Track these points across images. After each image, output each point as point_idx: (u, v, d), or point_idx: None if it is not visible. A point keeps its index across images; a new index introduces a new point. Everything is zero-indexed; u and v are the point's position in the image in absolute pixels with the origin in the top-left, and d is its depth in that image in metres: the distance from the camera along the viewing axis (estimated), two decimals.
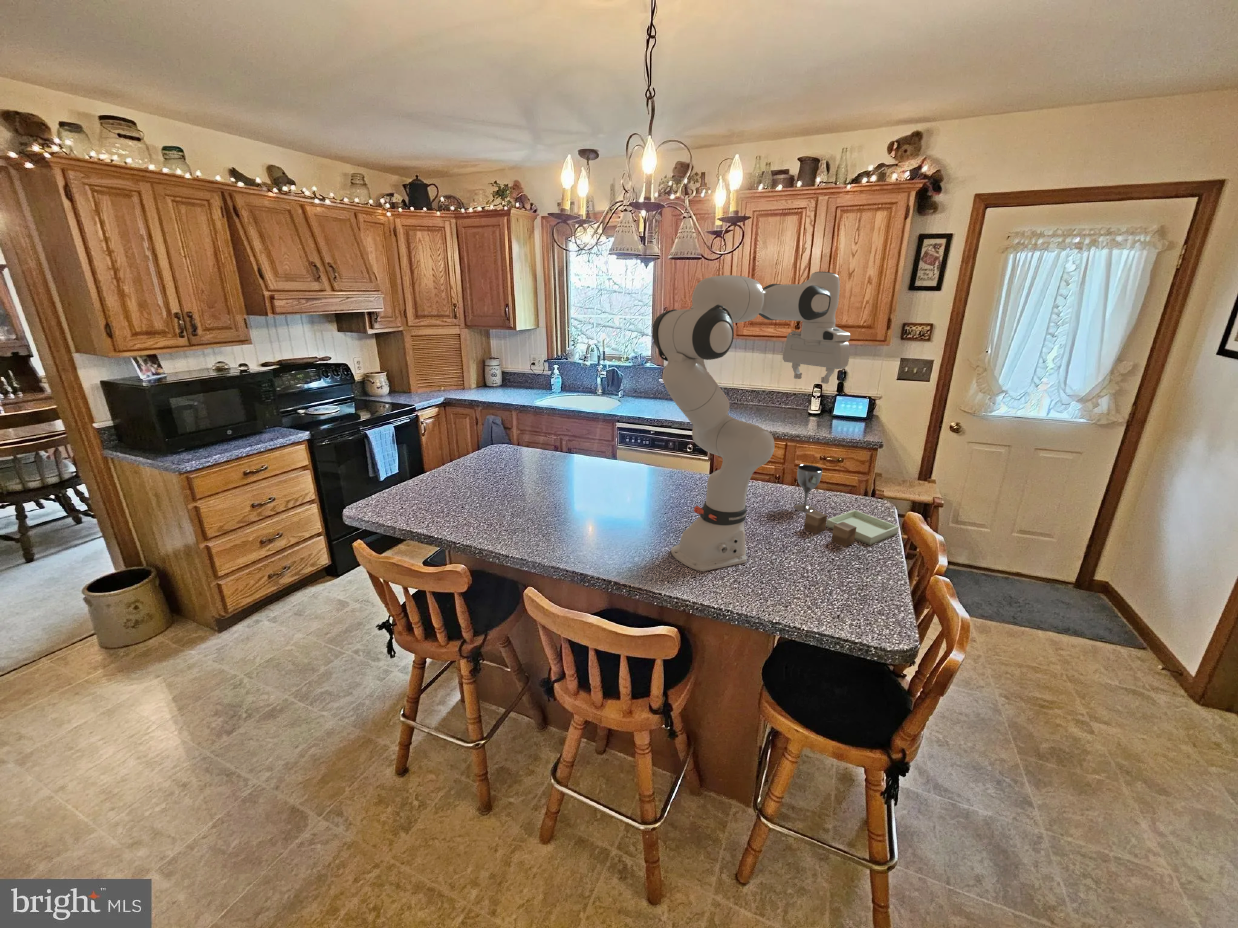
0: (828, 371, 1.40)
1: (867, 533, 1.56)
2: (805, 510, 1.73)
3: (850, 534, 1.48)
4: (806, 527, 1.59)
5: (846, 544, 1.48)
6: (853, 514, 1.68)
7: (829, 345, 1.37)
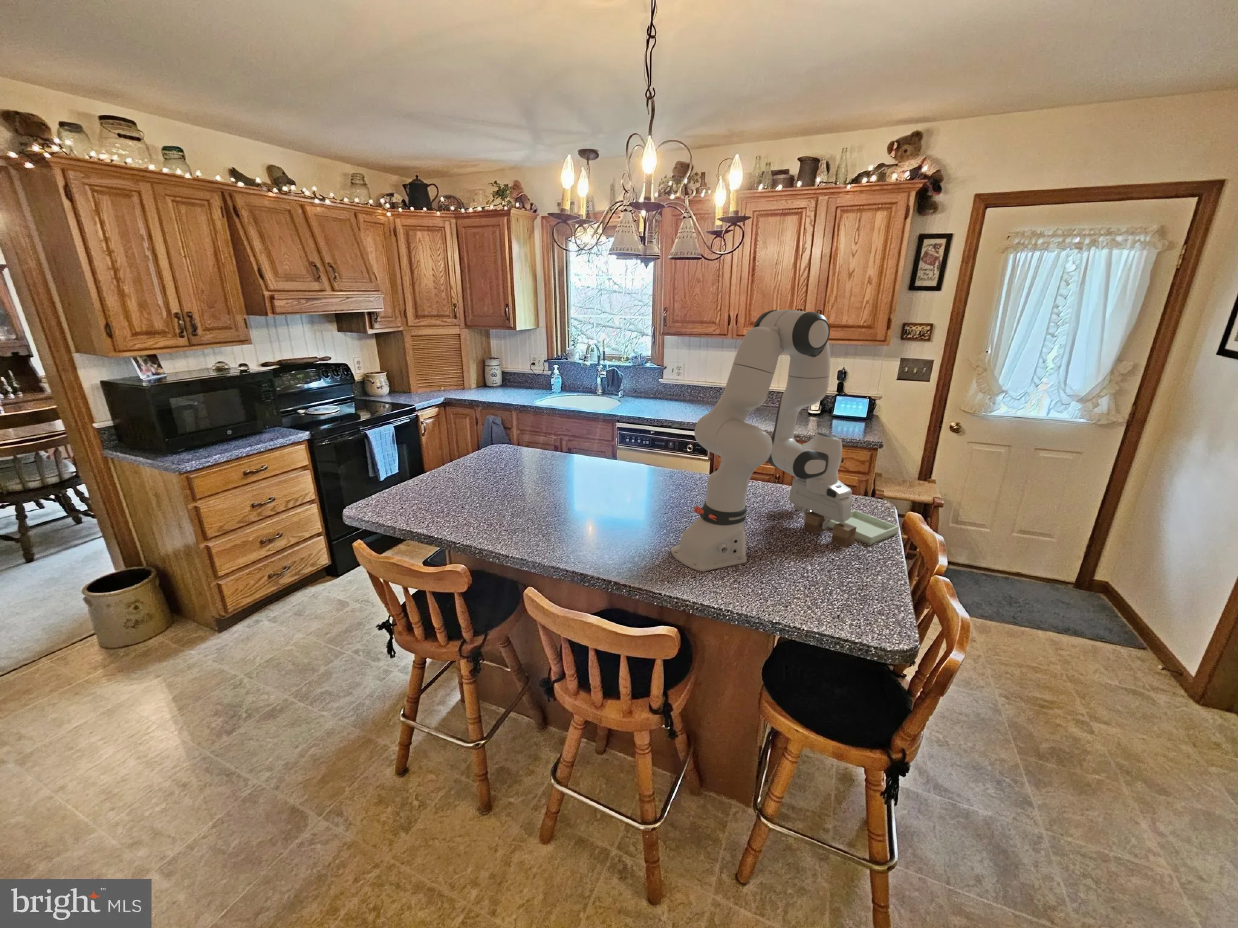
0: (826, 519, 1.53)
1: (867, 533, 1.56)
2: None
3: (850, 534, 1.48)
4: (806, 527, 1.59)
5: (846, 544, 1.48)
6: (853, 514, 1.68)
7: (832, 500, 1.49)
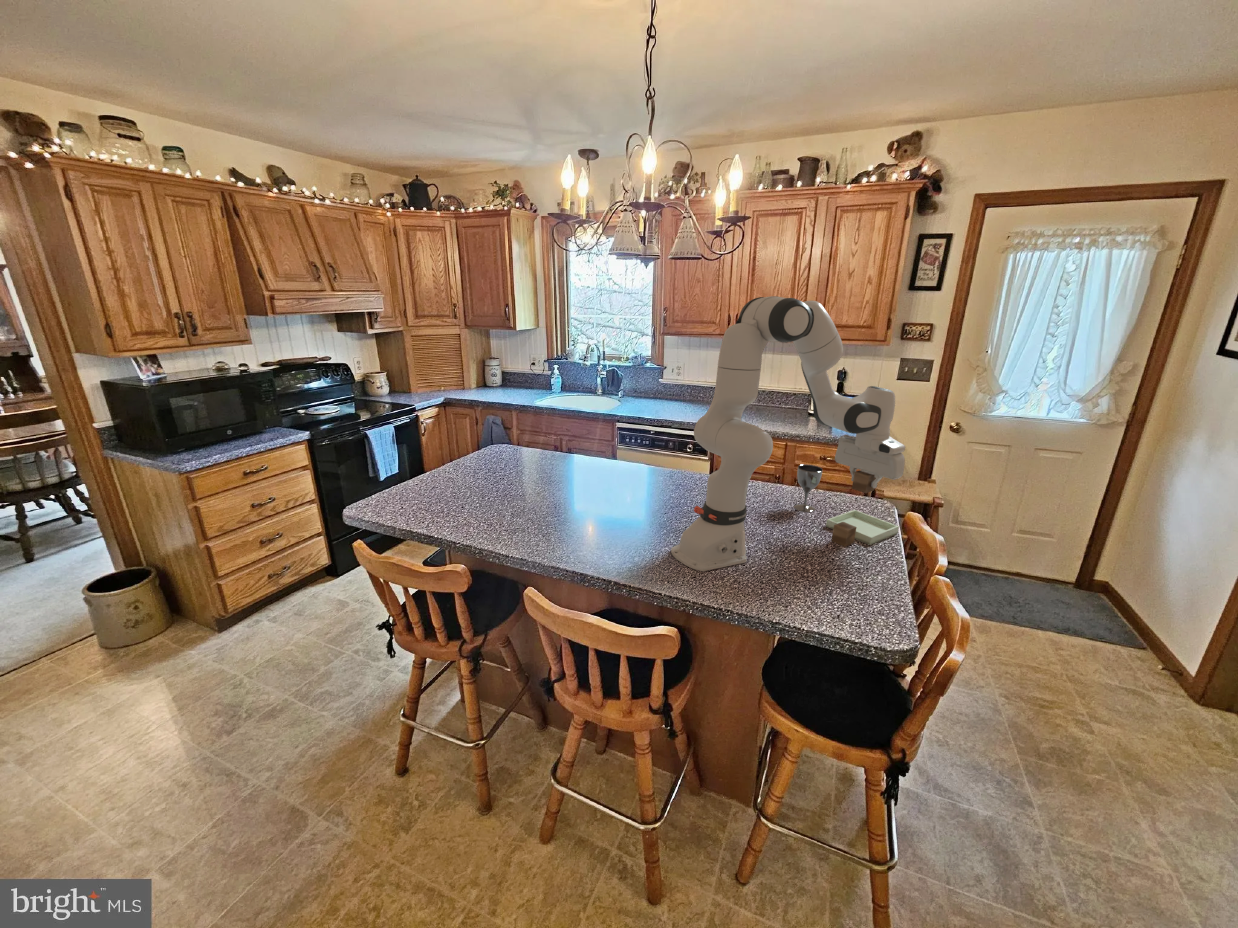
0: (877, 477, 1.47)
1: (867, 533, 1.56)
2: (805, 510, 1.73)
3: (850, 534, 1.48)
4: (854, 487, 1.53)
5: (846, 544, 1.48)
6: (853, 514, 1.68)
7: (885, 456, 1.43)
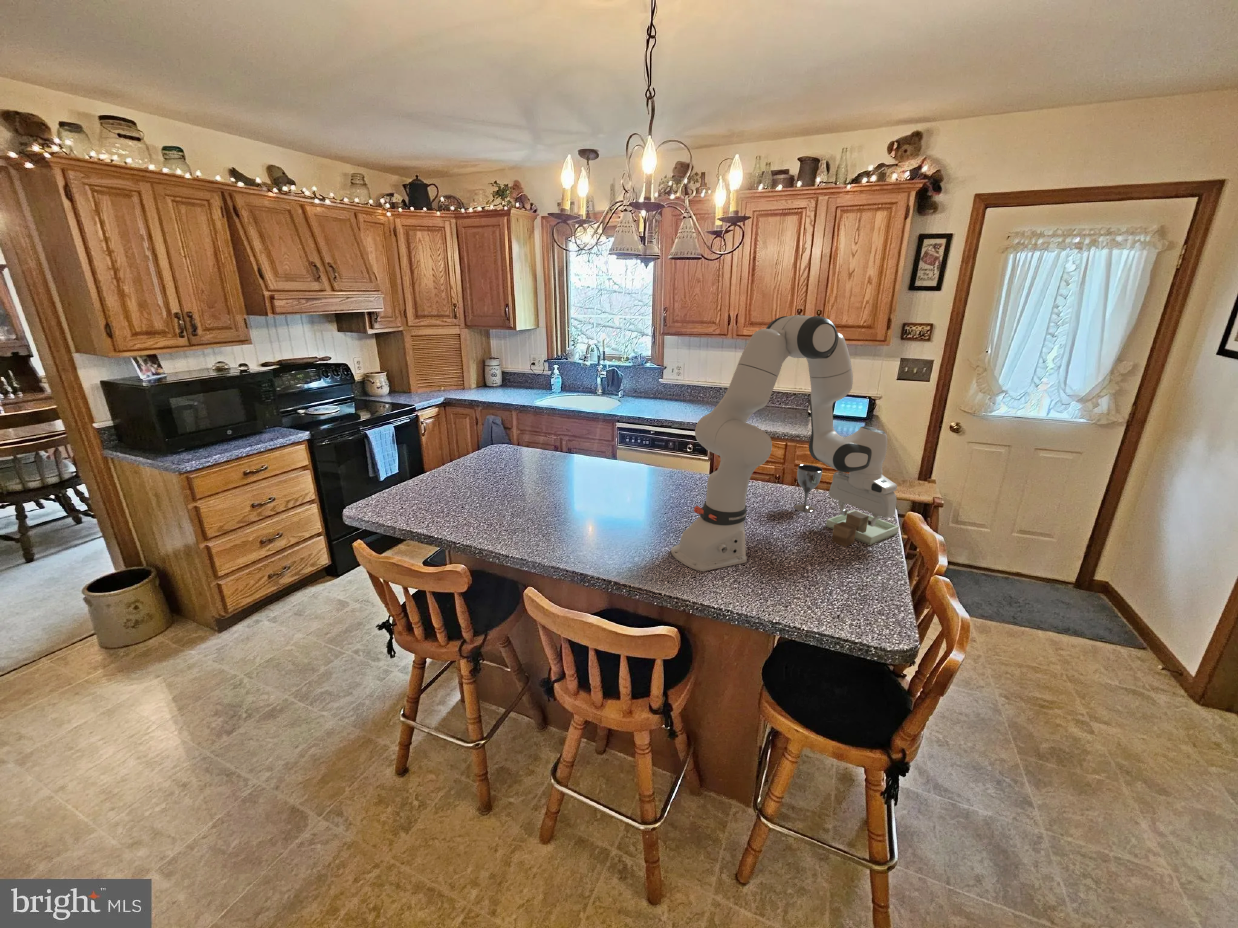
0: (875, 517, 1.50)
1: (867, 533, 1.56)
2: (805, 510, 1.73)
3: (850, 534, 1.48)
4: None
5: (846, 544, 1.48)
6: None
7: (877, 495, 1.47)
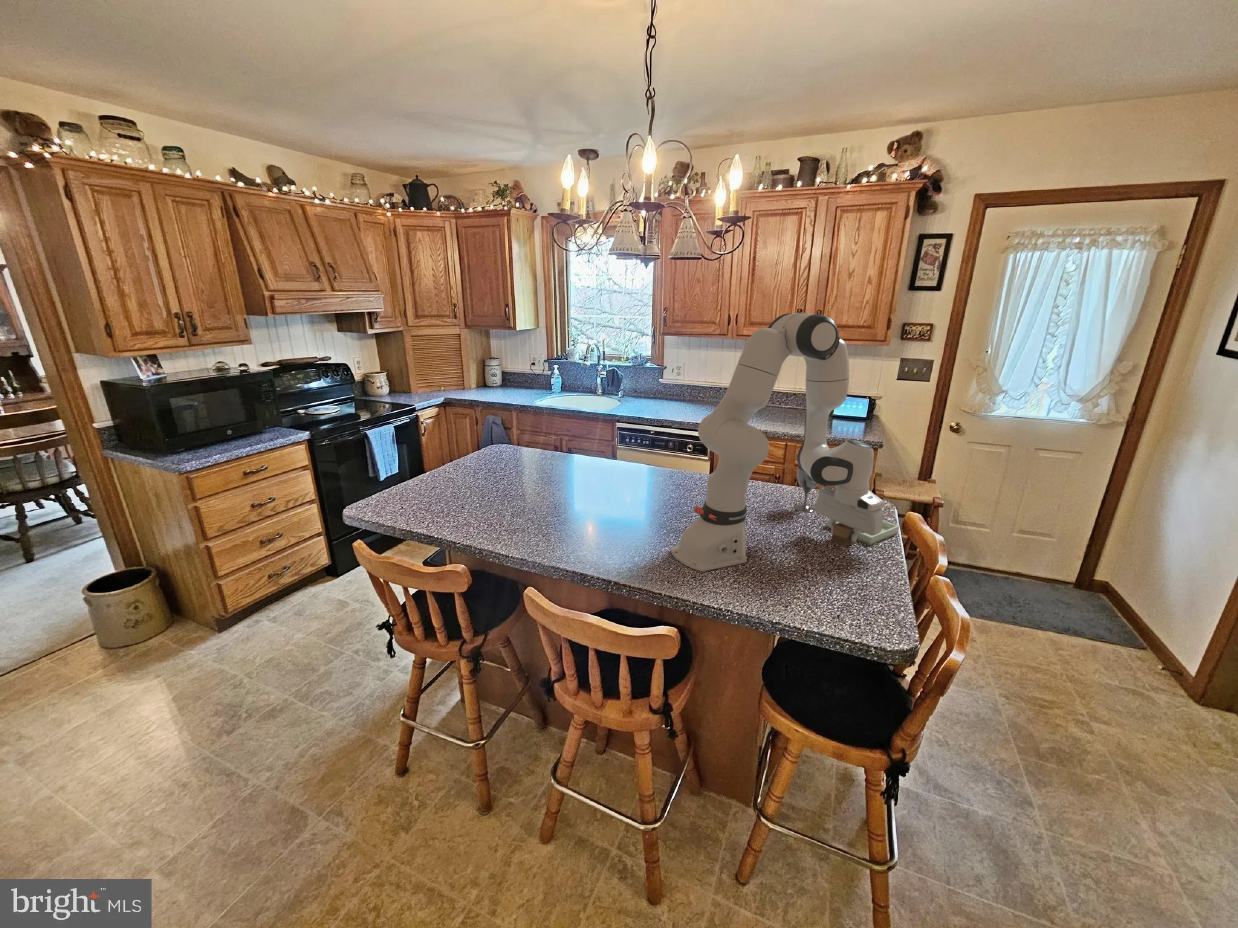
0: (856, 532, 1.46)
1: None
2: (805, 510, 1.73)
3: (850, 534, 1.48)
4: None
5: (846, 544, 1.48)
6: None
7: (863, 512, 1.41)
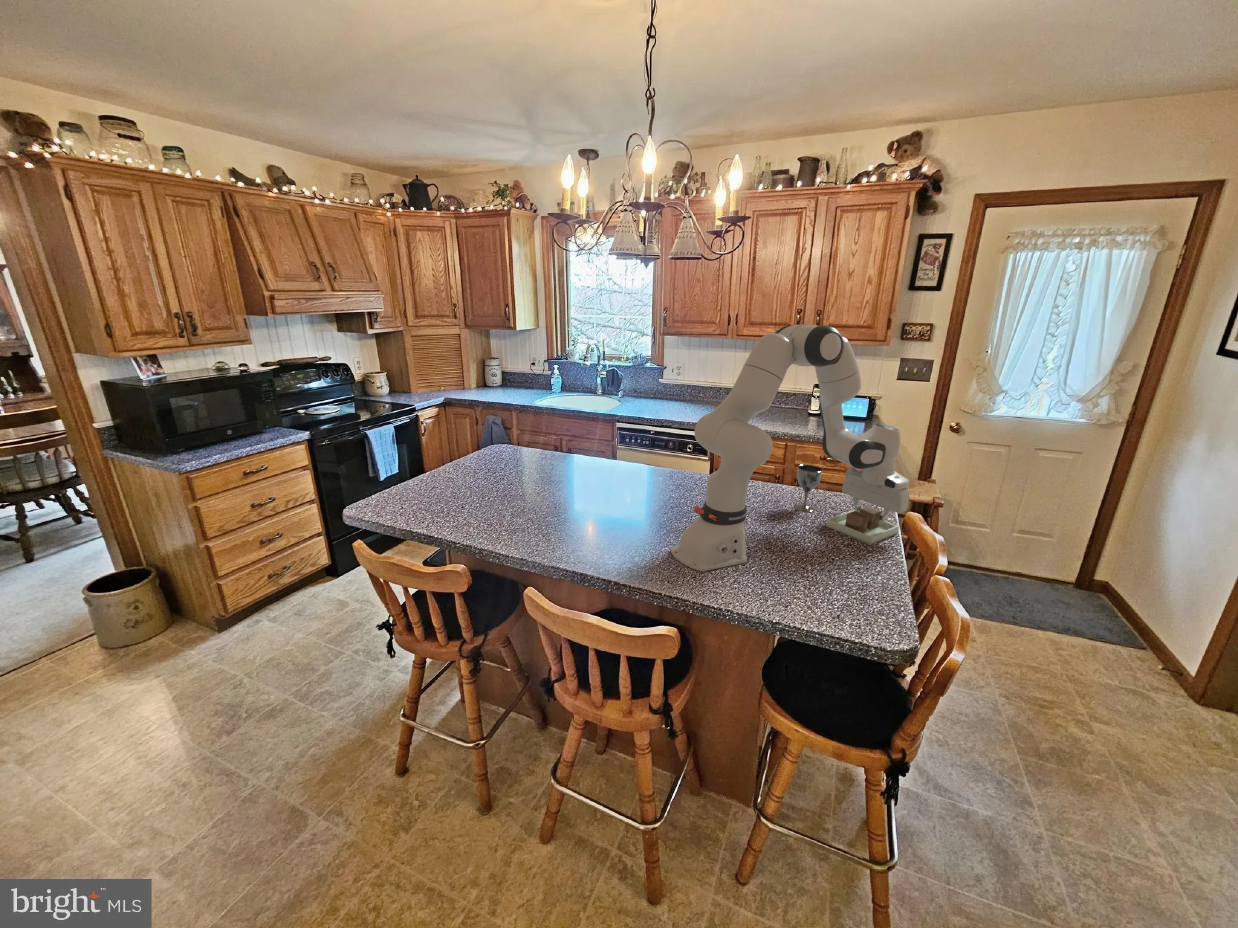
0: (887, 511, 1.54)
1: (867, 533, 1.56)
2: (805, 510, 1.73)
3: (875, 518, 1.58)
4: None
5: (872, 527, 1.58)
6: None
7: (890, 491, 1.50)
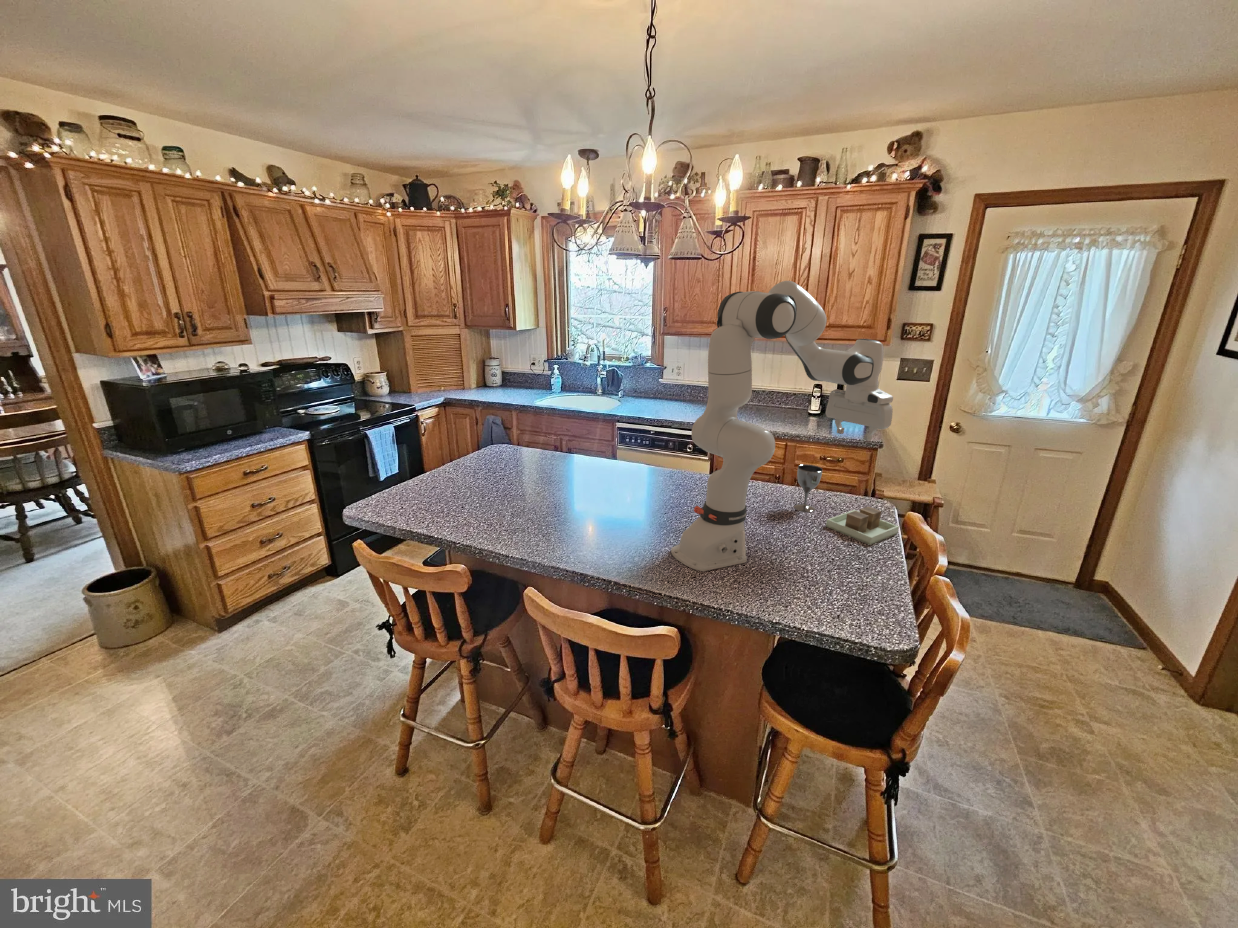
0: (871, 430, 1.50)
1: (867, 533, 1.56)
2: (805, 510, 1.73)
3: (875, 518, 1.58)
4: None
5: (872, 527, 1.58)
6: None
7: (873, 407, 1.47)
